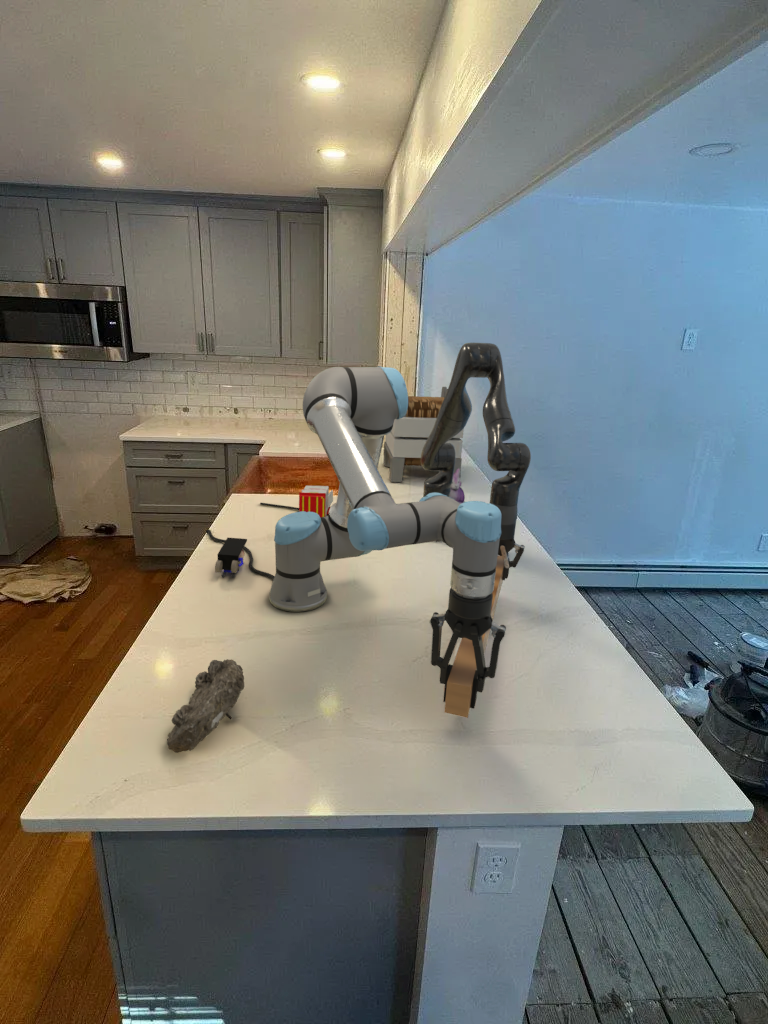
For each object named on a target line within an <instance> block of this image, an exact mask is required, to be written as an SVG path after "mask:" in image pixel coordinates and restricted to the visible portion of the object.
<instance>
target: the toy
mask: <svg viewBox="0 0 768 1024" xmlns="http://www.w3.org/2000/svg"><path fill="white" fill-rule="evenodd" d="M329 489H330V487H329V485H305V487H304V488H303V489H301V492H300V491H299V492H298V508H299V510H298V512H301V511H305V512H309V511H310V512H315V513H317V514H318V515H319V516H320V517H327V515H326V514H328V513H329V510H330V507H331V506H332V504H333V502H334V490H333V489H330V490H329Z"/></svg>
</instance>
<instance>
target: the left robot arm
mask: <svg viewBox="0 0 768 1024" xmlns="http://www.w3.org/2000/svg"><path fill="white" fill-rule="evenodd" d="M408 393H409V392H408V389H407V385H406V381H405V379H404V376H403V374H402V373H401V372H400V371H399V370H398V369H396V368H394V367H390V366H389V367H386V366H385V367H384V366H381V365H377V366H350V367H349V366H333V367H329V368H326V369H323V370H322V371H320V372H319V373H317V375H315V376H314V377H313V378H312V379H311V380H310V381H309V383H308V385H307V387H306V388H305V391H304V393H303V394H304V395H303V400H302V413H303V414H302V415H303V417H304V420H305V423H306V424H307V427H308V428H309V430H310V431H311V432H312V433H314V434H316V435H317V436H318V439H319V441H320V443H321V446H322V447H323V450H324V452H325V455H326V456H327V457H328V460H329V463H330V465H331V467H332V469H333V471H334V473H335V476H336V477H337V480H338V482H339V486H338V491H337V497H336V502H334V503H332V504H331V505H330V506H329V507H330V509H329V516H327V515H326V517H320V516H319V515H318V514H317V513H315V512H310V511H309V512H305V511H301V512H299V511H295V512H291V513H288V514H286V515H284V516H282V517H281V518H280V519H278V521H277V522H276V523H275V526H274V537H273V540H274V549H275V550H274V552H275V555H274V557H275V574H274V575H273V574H271V573H269V572H266V571H262V570H259V569H256V568H255V567H254V566H253V565H254V556H253V554H252V551H251V550H250V549H249V548H248V547H247V546H246V545H245V546H244V548H243V551H245V552H246V553H247V554H248V556H249V564H248V568H249V569H250V570H251V571H252V572H254V573H256V574H258V575H262V576H265V577H268V578H270V579H272V580H273V581H272V583H271V586H270V590H269V602H270V604H271V606H273V607H274V608H276V609H278V610H281V611H284V612H289V613H302V612H309V611H313V610H315V609H318V608H320V607H321V606H323V605H324V604H325V603H326V602H327V599H328V596H327V595H328V591H327V587H326V584H325V582H324V579H323V575H322V573H321V562H327V561H334V560H341V559H349V558H358V557H361V556H364V555H368V554H370V553H371V552H373V551H382V550H386V549H391V548H399V547H404V546H412V545H418V544H419V545H420V544H426V543H432V542H433V543H434V542H442V543H444V544H445V545H446V546H448V547H449V548H451V549H452V560H451V570H450V573H451V574H450V583H449V586H450V588H449V593H448V605H447V610H446V611H445V613H439V612H437V611H435V612H433V613H432V615H431V617H430V620H429V623H430V627H431V629H432V639H431V641H432V642H431V653H430V654H431V655H430V664H431V666H433V667H438V668H439V684H441V685H444V689H443V700H442V702H443V703H445V700H446V689H447V681H448V678H449V675H450V672H451V669H452V666H453V664H451V663H450V661H451V659H452V656H453V654H454V651H455V648H456V645H457V643H458V641H459V638H460V639H462V638H467V639H469V640H472V644H473V646H474V653H475V660H476V667H477V670H476V671H475V674H474V678H473V687H472V696H471V705H470V709H473V710H474V709H475V707H476V703H477V698H478V693H481V694H482V693H483V691H484V688H485V681H486V678H490V679H494V678H496V672H497V667H498V660H499V653H500V648H501V642H502V641H503V639H504V637H505V635H506V630H507V626H506V625H505V624H500V625H499V624H497V623H496V622H494V619H493V620H492V617H491V607H492V598H493V594H492V592H493V590H494V582H495V574H496V564H497V556H499V555H498V549H499V541H500V536H501V511H500V510H499V508H498V507H497V506H495V505H493V504H490V502H489V503H488V502H485V501H481V500H467V501H464V503H462V504H460V503H459V502H457V501H456V500H454V499H453V498H451V497H448V496H447V495H443V494H441V493H429V494H427V495H426V496H425V497H421V498H420V499H419V500H418V501H412V502H403V503H396V502H395V499H394V498H393V496H392V495H391V492H390V490H389V488H388V487H387V485H386V482H385V481H384V479H383V477H382V476H381V473H380V472H379V470H378V469H379V462H380V458H381V453H382V448H383V445H384V441H385V436H386V434H388V433H390V432H391V431H392V428H393V423H394V420H395V419H400V418H403V417H404V416H405V415H406V412H407V409H408V396H409V395H408ZM205 533H206V534H208V536H209V538H210V539H211V540H213V541H214V542H218V543H223V544H224V543H225V541H226V539H221V538H218V537H216V536H214V535H213V533H212V531H211V529H209V528H207V529H206V530H205ZM445 623H447V625H448V627H449V628H450V630H451V632H452V634H451V637H450V640H449V642H448V644H447V648H446V650H445V653H444V655H443V657H442V656H441V648H442V634H443V633H442V632H443V626H444V624H445ZM489 629H490V633H491V637H492V638H493V639H492V645H491V651H490V660H489V666H487V664H486V657H485V652H484V649H483V642H482V635H483V634H484V633H486V632H487V631H488V630H489Z"/></svg>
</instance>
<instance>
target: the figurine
mask: <svg viewBox="0 0 768 1024" xmlns="http://www.w3.org/2000/svg"><path fill="white" fill-rule="evenodd" d="M459 473H460V469H459V468H458V469H457V470H456V472H455V473H453V481H452V485H451V493H450V497H451V498H453V499H454V500H456V501H457V502H459V503H460V504H462V503H464V502H465V498H466V496H465V492H464V490H463V489H462V487H461V486H462V481H461V477H460V478H459Z"/></svg>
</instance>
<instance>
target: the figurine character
mask: <svg viewBox="0 0 768 1024" xmlns="http://www.w3.org/2000/svg"><path fill="white" fill-rule="evenodd" d="M225 540H226V541H225V543H223V544H222V546H221V547H220V549H219V551H218V552H217V560H216V562H215V564H214V572H215V573H221V577H222V578H224V577H225V576H226V574H227V573H230V574H231V573H232V574H231V578H234V577H235V575H236V573H237V572H239V571H240V567H242V566H243V565H244V564H245V562H244V558H245V550H244V549H243V548H244V546H245V547H246V544H247V542H248V538H240V537H226V539H225Z"/></svg>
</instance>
